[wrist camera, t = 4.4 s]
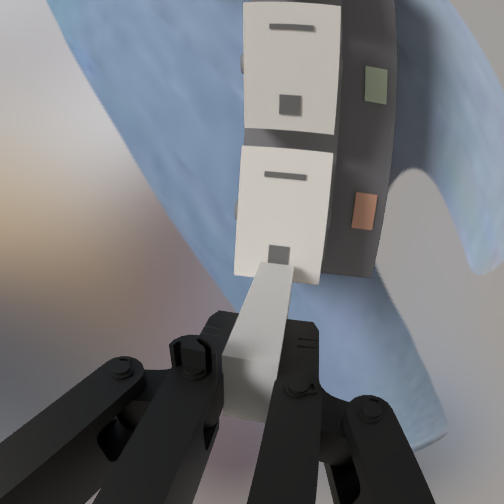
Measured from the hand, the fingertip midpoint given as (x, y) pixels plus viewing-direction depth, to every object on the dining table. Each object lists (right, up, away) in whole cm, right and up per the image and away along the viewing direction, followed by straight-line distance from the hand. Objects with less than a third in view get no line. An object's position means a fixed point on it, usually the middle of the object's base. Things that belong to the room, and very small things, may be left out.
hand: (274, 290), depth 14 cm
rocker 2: (0, +4, 0) cm, 4 cm away
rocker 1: (+1, +10, -3) cm, 10 cm away
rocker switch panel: (+4, +13, +4) cm, 14 cm away
